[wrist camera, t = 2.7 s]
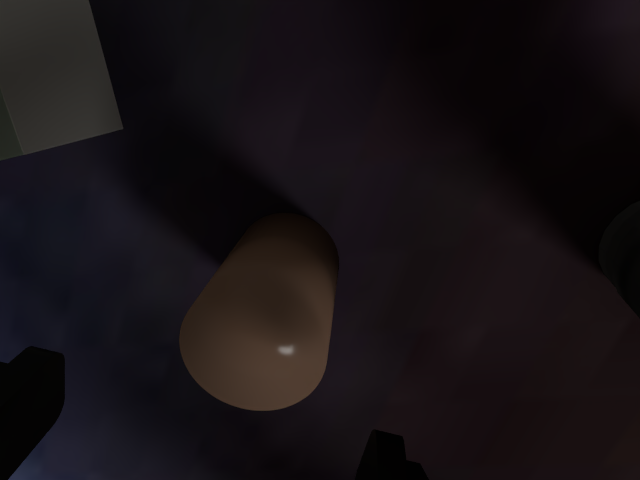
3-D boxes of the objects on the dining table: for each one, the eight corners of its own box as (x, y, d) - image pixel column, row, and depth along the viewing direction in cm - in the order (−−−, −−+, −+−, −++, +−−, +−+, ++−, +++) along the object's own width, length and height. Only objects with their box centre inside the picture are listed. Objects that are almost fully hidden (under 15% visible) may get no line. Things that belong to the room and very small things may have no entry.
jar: (350, 227, 20) (344, 306, 13) (325, 317, 22) (308, 425, 15) (246, 201, 20) (188, 267, 13) (229, 293, 22) (172, 390, 15)
